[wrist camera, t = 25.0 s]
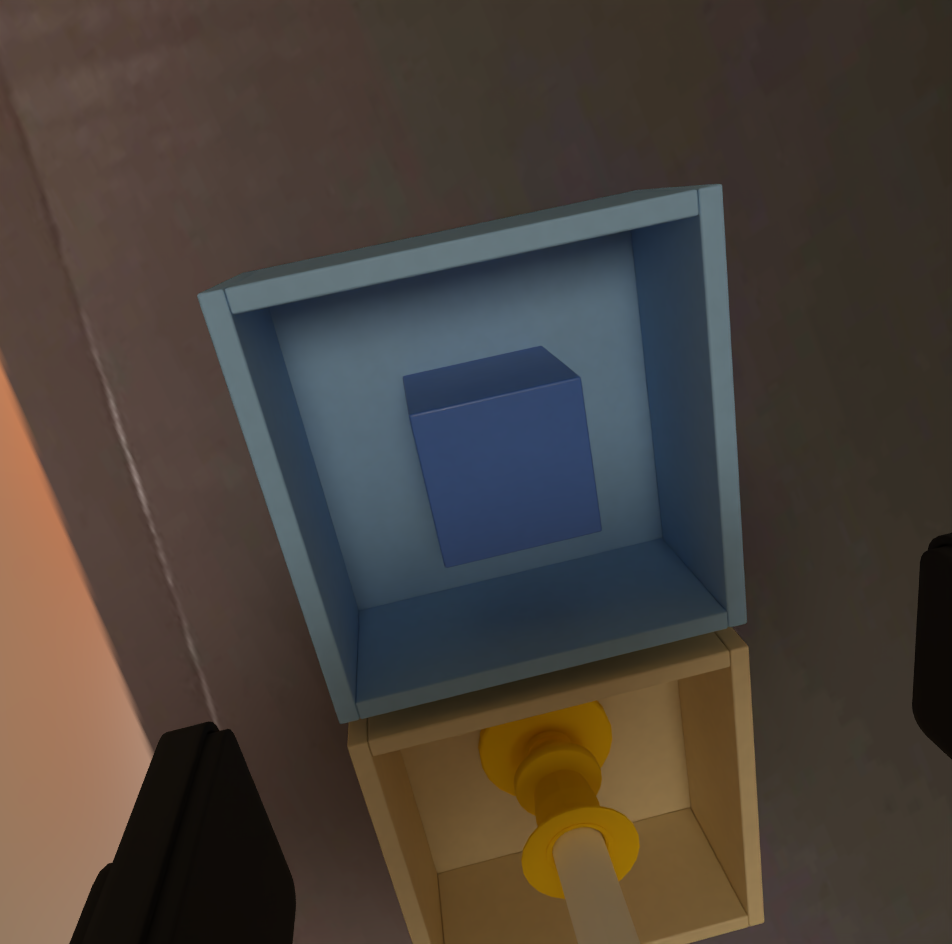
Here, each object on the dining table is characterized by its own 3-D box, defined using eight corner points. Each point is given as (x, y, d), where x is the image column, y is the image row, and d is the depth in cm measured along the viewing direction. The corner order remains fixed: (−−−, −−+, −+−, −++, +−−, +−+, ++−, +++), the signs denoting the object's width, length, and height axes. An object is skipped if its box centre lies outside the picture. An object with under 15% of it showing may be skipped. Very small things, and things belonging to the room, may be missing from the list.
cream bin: (425, 876, 30) (435, 1013, 25) (352, 638, 25) (346, 747, 20) (699, 804, 31) (765, 923, 25) (676, 561, 26) (749, 646, 21)
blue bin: (346, 620, 25) (339, 725, 20) (240, 273, 21) (195, 294, 16) (674, 541, 26) (748, 624, 21) (639, 189, 21) (723, 182, 16)
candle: (453, 767, 27) (540, 1390, 13) (520, 663, 26) (699, 1225, 12) (565, 805, 29) (756, 1403, 14) (633, 708, 28) (918, 1259, 13)
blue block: (432, 505, 23) (445, 569, 19) (401, 375, 22) (408, 414, 18) (562, 475, 24) (603, 531, 20) (542, 344, 22) (581, 375, 18)
